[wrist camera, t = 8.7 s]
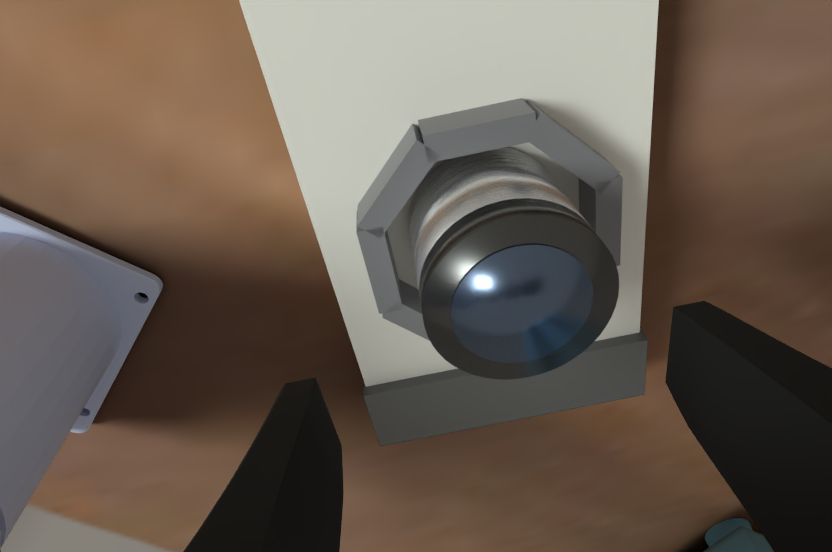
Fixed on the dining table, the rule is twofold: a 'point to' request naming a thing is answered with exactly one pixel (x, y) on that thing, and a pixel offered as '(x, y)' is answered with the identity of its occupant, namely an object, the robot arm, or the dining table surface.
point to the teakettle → (735, 537)
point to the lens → (507, 266)
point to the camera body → (454, 137)
